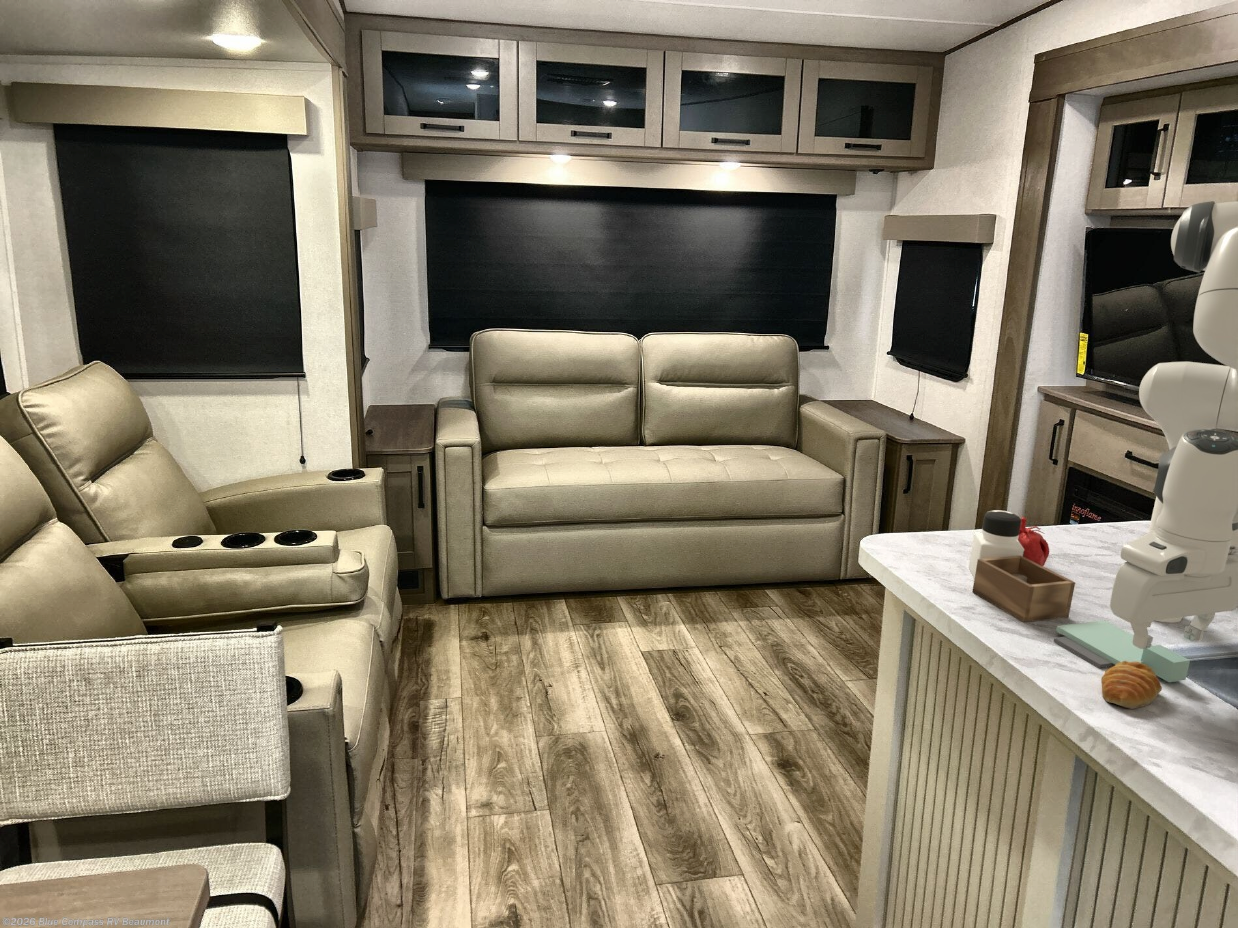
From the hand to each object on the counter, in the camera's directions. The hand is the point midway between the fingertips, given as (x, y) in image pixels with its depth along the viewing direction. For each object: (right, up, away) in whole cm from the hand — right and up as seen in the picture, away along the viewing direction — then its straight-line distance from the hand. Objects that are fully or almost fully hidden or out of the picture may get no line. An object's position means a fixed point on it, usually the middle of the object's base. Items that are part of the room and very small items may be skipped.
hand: (1166, 642), depth 124 cm
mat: (-5, -3, +8) cm, 9 cm away
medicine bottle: (-10, +5, +35) cm, 36 cm away
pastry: (-8, -6, -5) cm, 11 cm away
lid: (-2, -3, +6) cm, 7 cm away
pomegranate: (-3, +6, +41) cm, 42 cm away
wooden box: (-10, +2, +23) cm, 25 cm away
